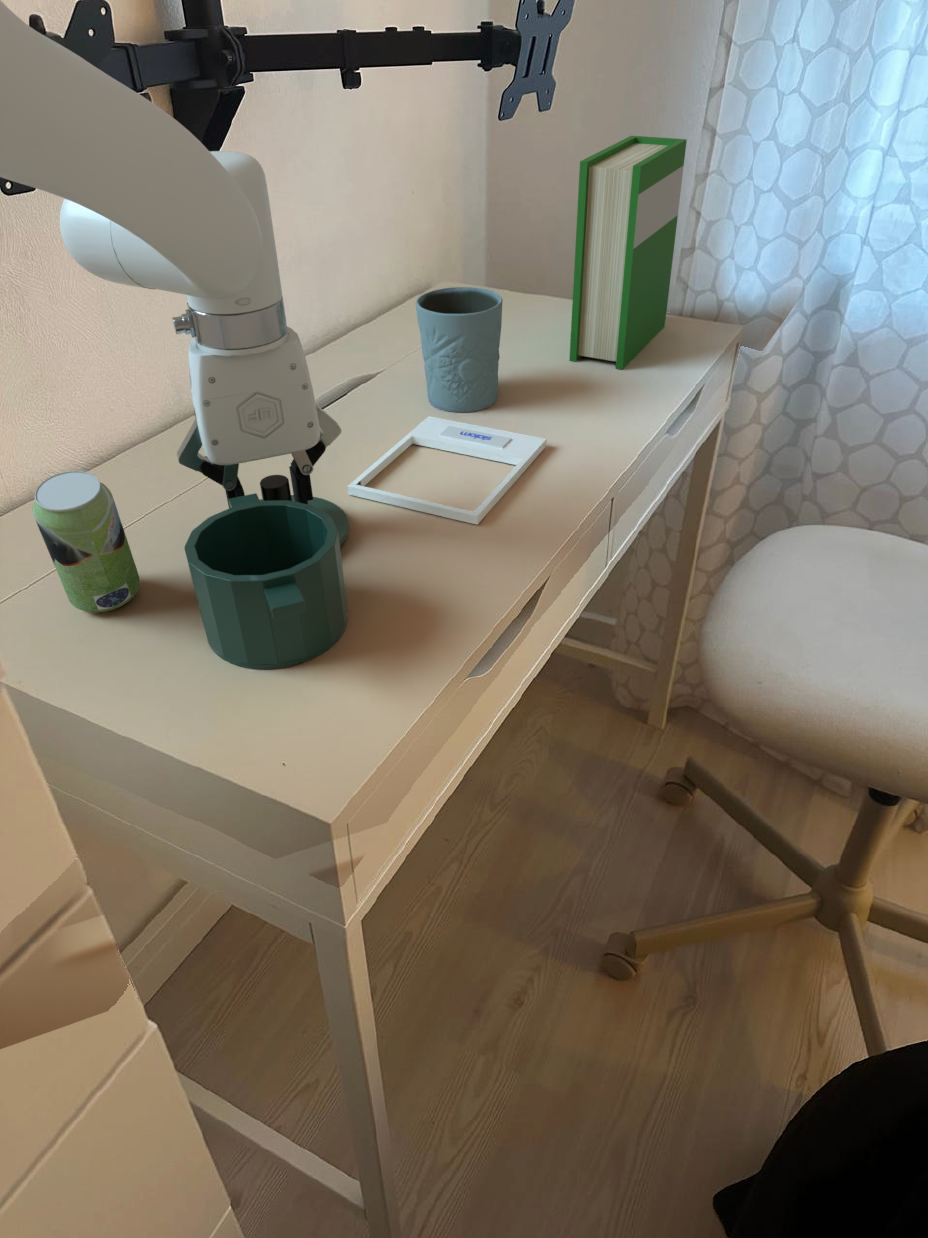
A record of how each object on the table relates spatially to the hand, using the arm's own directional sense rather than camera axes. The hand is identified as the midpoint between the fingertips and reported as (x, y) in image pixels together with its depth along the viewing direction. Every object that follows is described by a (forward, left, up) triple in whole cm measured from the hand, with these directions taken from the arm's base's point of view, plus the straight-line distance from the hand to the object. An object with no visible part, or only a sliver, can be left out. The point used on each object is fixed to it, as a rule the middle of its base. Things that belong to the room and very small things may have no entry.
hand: (272, 511), depth 84 cm
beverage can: (-16, -5, -3) cm, 17 cm away
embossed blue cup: (+28, +22, -3) cm, 36 cm away
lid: (0, -1, -2) cm, 2 cm away
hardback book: (+55, +30, -3) cm, 62 cm away
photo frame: (+20, +5, -3) cm, 21 cm away
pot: (-3, -14, -3) cm, 15 cm away
